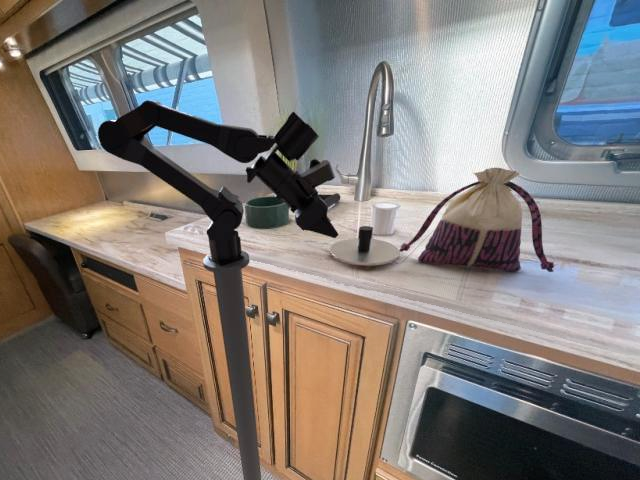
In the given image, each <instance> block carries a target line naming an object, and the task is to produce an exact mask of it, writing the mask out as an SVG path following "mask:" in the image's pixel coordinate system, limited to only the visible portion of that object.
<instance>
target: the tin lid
mask: <svg viewBox="0 0 640 480" xmlns="http://www.w3.org/2000/svg"><path fill="white" fill-rule="evenodd" d="M329 254H330V256H331V257H332V256H333V257H334V259H336V260H337V261H339V262H342V263H345V264H349V265H352V264H354V265H353V266H355V265H364V266H373V265H376V266H382V265H387V264H390V263H392V262H395V261H396V260H397V259H398V258H399V256H400V251H399V248H398V246H396V245H394V244H392V243H390V242H387V241H385V240H381V239H375V238H373V227H371V225H362V226H360V227H359V228H358V236H357V238H346V239H342V240H339V241H336V242H335V243H333V244H332V245H331V246H330V248H329ZM333 257H332V258H333Z"/></svg>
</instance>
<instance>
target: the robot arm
mask: <svg viewBox="0 0 640 480" xmlns="http://www.w3.org/2000/svg"><path fill="white" fill-rule="evenodd" d="M156 127H158V128H159V129H163V130H166V131H168V132H171V133H175V134H178V135H181V136H184V137H187V138H190V139H192V140H195V141H198V142H201V143H204V144H207V145H210V146H212V147H214V148H215V149H216V150H218V151H220V152H221V153H222V154H224V155H226V156H227V157H229V158H231V159H233V160H234V161H236V162H238V163H241V164H249V163H251V162H253V161H255V159H256V158H257V157H258V155H259V154H263V153H266V152H269V151H270V152H269V153H268V154H267V155H266V156H263V155H260V156H259V157H258V158H257V160H256V161H255V162H254V163H253V165H252V166H246V167H245V172H246V182H247V183H248V184H250V183H251V182H252V181H253V180H254V179H255V178H258V180H260V181H261V182H262V183H263V184H264V185H265V186H266V187H267V188H268V189H269V190H270V191H271V192H273V194H275V195H274V196H276V197H277V198H278V199H279V200H280V199H281V200H282V201H283V202H284V203H285V204H286V205H287V206H288V207H290V209H289V211H290V212H292V214H294V220H295V224H296V226H297V227H298V228H300V229H301V230H302V231H303V232H305V231H306V232H308V231H309V232H312V233H316V234H319V235H323V236H326V237H330V238H333V239H336V238H337V237H338V236H340V235H339V234H340V233H339V232H338V231H337V229H336V228H335V227H334V224H333V223H332V222H331V220H330V218H329V216H328V212H329V209H328V206H327V204H326V203H325V202H324V201H323V200H322V199H321V198H320V197H319V196H318V195H319V191H318V190H317V188H318V187H319V186H322V185H323V184H324V183H327V182H330V181H333V180H334V179H335V178H336V175H335V173H334V169H333V167H332V165H331V162H330V161H329V160H327V159H323V160H321V161H320V160H318V159H317V158H312V159H311V160H309V161H308V168H307V169H305V171H303V172H301V173H300V172H299V171H298V170H297V169H296V170H295V169H293V168H292V167H291V166H290V165H289V164H287V162H286V161H285V160H283V159H282V157H281V156H279V154H278V153H276V152H279V153H280V154H281V155H282V156H283V157H284V158H285V159H286V160H287V161H288V162H292V161H295V160H296V161H297V162H299V160H300V159H302V158H303V156H304V155H305V154H306V153H307V151H309V150H310V148H311V147H312V146H313V145H314V143H315V142H317V140H318V139H319V138H320V136H319V135H318V133H317V132H316V131H315V130H314V128H312V127H311V125H310V124H309V123H307V122H305V121H304V120H303V119H302V118H301V117H300V116H299V115H298V114H297V113H296V112H295V111H291V112H290V114H289V115H288V116H287V118H286V120H285V121H284V123H283V124H282V125H281V126H280V128H279V129H278V130H277V131H276V133H275V134H274V135H270V133H269V134H268V135H267V134H266V135H265V134H258V132H257V131H256V130H254V129H253V128H249V127H243V126H236V125H229V124H220V123H216V122H213V121H211V120H208V119H204V118H203V117H198V116H196V115H193V114H190V113H188V112H186V111H185V112H184V111H181V110H179V109H176V108H173V107H170V106H167V105H164V104H162V103H161V102H159V101H157V100H147V99H146V100H144V101H143V102H142V103H141V104H140V105H138V106H137V107H135V108H134V109H132V110H131V111H127V113H125V114H123V115H121V116H119V117H118V118H117V119H110V120H109V119H108V120H105V121H103V122H102V123H101V124H100V125H99V127H98V130H97V138H98V141H99V145H100V146H101V148H102V149H103V150H104V151H105V152H106V153H108V154H110V155H113V156H114V157H117V158H118V159H121V160H123V161H127V162H129V163H133V164H136V165H139V166H141V167H142V168H144V169H145V170H147V171H148V172H149V173H151V174H153V175H154V176H156V177H157V178H159V179H160V180H161V181H163V182H164V183H166V184H167V185H169V186H170V187H171V188H173V189H175V190H176V191H178V192H179V193H180V194H182V195H183V196H185V197H186V198H188V199H189V200H191V201H192V202H194V203H195V204H196V205H198V206H199V207H200V208H201V209H202V210H203V212H204V213H205V214H206V216H207V217H208V218H209V220H211V222H210V224H209V226H208V228H207V230H206V235H207V238H208V245H209V252H210V253H211V255H210V256H208V259H210V260H212V261H213V262H215V263H217V264H218V265H220V266H224V265H227V264H229V263H232V262H235V261H238V260H241V259H244V256H243V255H241V253H242V251H243V250H242V242H241V241H242V240H241V236H239V231H238V230H236V229H238V228H239V227H240V226H241V224H242V221H243V217H244V213H245V208H244V205H243V203H242V201H241V200H239V198H240V196H239V195H238V194H237V195H236V194H235V193H232V192H231V191H230V190H229V189H228V188H227V187H226V186H224V185H223V186H222V187H221V189H220V190H217V189H214V188H212V187H210V186H209V185H207V184H206V183H204V182H203V181H201V180H200V179H199V178H197V177H196V176H195V175H193V174H192V173H190V172H189V171H187V170H186V169H185V168H183V167H182V166H181V165H179V164H177V163H176V161H173V160H172V159H170V157H167V156H166V155H165V154H163V153H162V152H161V151H159V150H158V149H157V148H155V147H154V146H153V144H152V143H151V142H150V141H149V140H148V138H147V137H146V135H147V134H148V133H150V132H151V131H153V129H154V128H156ZM275 144H276V145H275ZM272 148H273V149H272ZM241 250H242V251H241ZM210 253H209V254H210Z"/></svg>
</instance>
